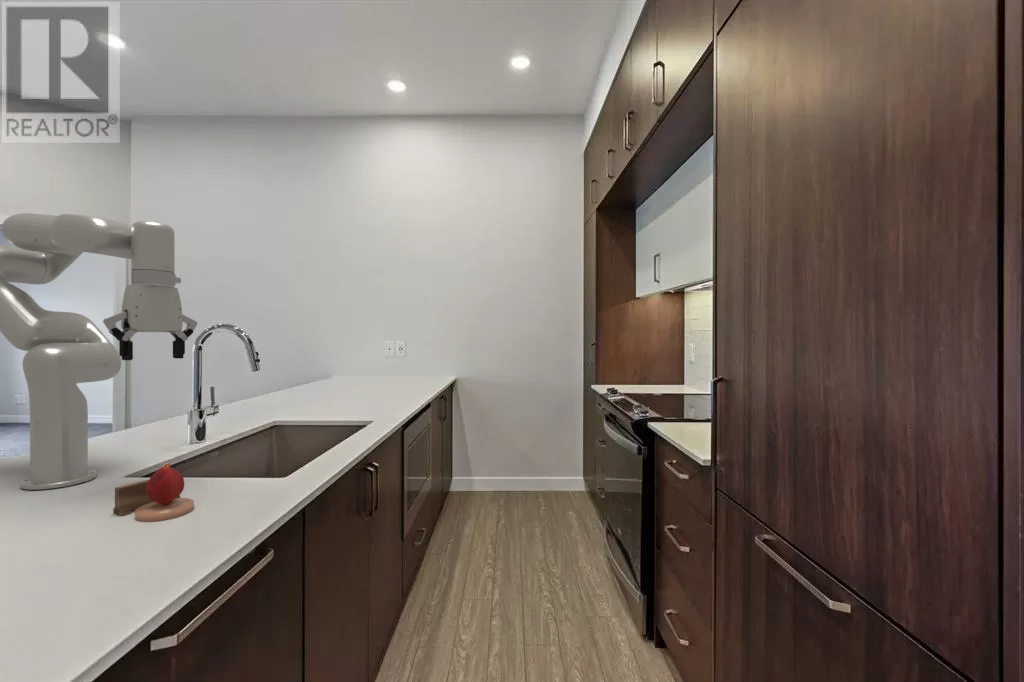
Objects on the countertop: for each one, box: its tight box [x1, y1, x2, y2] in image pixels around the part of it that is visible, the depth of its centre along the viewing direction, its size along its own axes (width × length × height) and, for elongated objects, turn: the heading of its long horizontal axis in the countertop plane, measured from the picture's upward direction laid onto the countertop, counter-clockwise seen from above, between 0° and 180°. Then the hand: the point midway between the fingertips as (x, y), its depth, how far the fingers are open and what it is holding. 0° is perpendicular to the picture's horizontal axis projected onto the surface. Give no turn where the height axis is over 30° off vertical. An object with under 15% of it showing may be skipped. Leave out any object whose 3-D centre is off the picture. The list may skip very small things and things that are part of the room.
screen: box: [112, 479, 181, 517], centre depth 93 cm, size 3×10×5 cm, turn 151°
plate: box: [134, 497, 195, 523], centre depth 90 cm, size 9×9×1 cm
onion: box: [146, 462, 185, 506], centre depth 90 cm, size 6×6×8 cm
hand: (153, 359), depth 103 cm, fingers open, 9 cm apart
